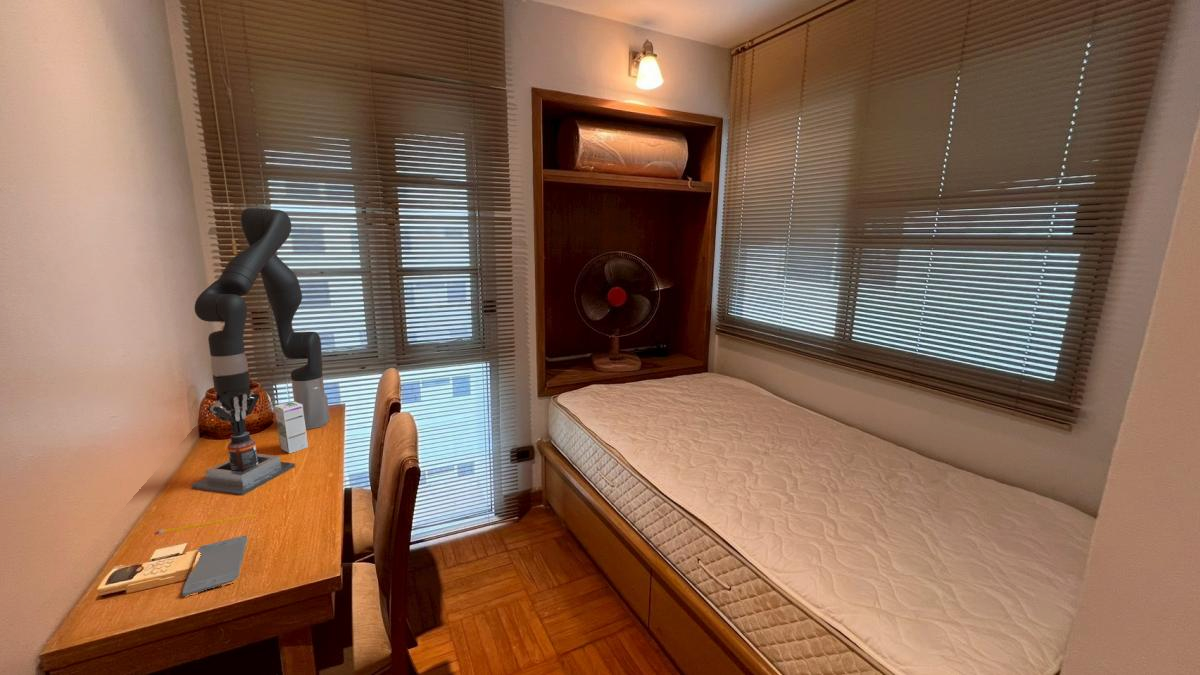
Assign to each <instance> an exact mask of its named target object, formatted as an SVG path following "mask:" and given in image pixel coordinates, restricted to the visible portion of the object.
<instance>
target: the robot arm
mask: <svg viewBox="0 0 1200 675" xmlns="http://www.w3.org/2000/svg"><path fill="white" fill-rule="evenodd" d="M240 224H241V228H242V232H243V234H244V236H245V239H246V241H247V244H248V246H249V247H247V248H245V249H244V250H243V251H241V252H239V253H238V254H236V255H235V256H233V258H232V259H230V261H228V263H227V264H226V266H225V268H224V269H223V271H222V273H221V275H220V277H219V278H217V280H215V281H214V282H212V283H211V284H210V285H209V286H208V287H207V288H206V289H204V290H203V291H202V292H201V293H200V294H199V295H198V296H197V298H196V300H195V304H194V313H195V315H196V316H197V317H198V318H199V319H200V320H201V321H203V322H210V323H219V322H221V323H223V322H224V326H223V328H222V329H221V330H217V331H213V332H211V333H209V334H208V346H209V347H208V348H209V354H210V369H211V375H212V382H213V388H214V390H215V392H216V397H215V403H213V405H209V406H208V407H207V411H208V412H210V413H211V414H212V415H214V416H215V417H217V418H218V419H220V420H221V421H223V422H230V427H231V432H232V433H233V434H241V433H244V432H246V429H247V424H246V418H247V416H248V415H250V416H251V414H252V413H253V411H254V409H255V407H256V405H257V403H258V401H259V399H260V397H261V394H260V393H257V392H256V393H255V392H253V391H252V390H251V387H250V385H251V380H250V379H251V378H250V370H249V365H248V358H247V356H246V352H245V343H244V332H245V326H246V321H247V316H248V305H247V303H246V301H245V299H244V298H243V296H246V295H247V294H248V293H249V292H250V291H251V289H252V288H253V286H254V283H255V282H256V280H257V279H258V276H259V275H260V277H261V280H262V283H263V288H264V290H265V293H266V297H267V299H268V303H269V305H270V307H271V311H272V314H273V318H274V322H275V326H276V330H277V334H278V339H279V343H280V347H281V352H282V354H283V355H284V357H285V358H286V359H289V360H307V362H306V364H305V365H303V366H300V367H298V368H295V369H292V370H291V372H290V380H291V387H292V388H291V389H292V396H293V401H294V402H297V403H300V404H302V405H303V413H304V420H305V427H306V430H313V429H318V428H320V427H324V426H326V425H327V424H328V422H330V420H331V419H330V412H329V402H328V396H327V395H326V394H325V393H326V392H325V385H324V378H323V358H322V355H323V354H322V340H321V337H320V335H319V333H318V332H316V331H295V330H294V328H293V319H294V317H295V314H296V313H297V311H298V309H299V307H300V305H301V303H302V300H303V293H302V290H301V286H300V282H299V279H298V277H297V276H296V273H294V271H293V270H292V269H291V268H290V267H288V265H287V264H286V263H285V262H284V261H283V260H282V259H280V257H278V256H277V254H276V253H277V252H278V250H279V249H280V248H282V246H283V245H284V243H285V242H286V241H287V240H288V239H289V237H290V235H291V232H292V221H291V218H290V216H289V215H288V213H287V212H285V211H283V210H280V209H273V208H256V207H255V208H254V207H247V208H245V209H244V210H243V211H241V216H240Z"/></svg>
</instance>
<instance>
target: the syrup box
mask: <svg viewBox="0 0 1200 675" xmlns="http://www.w3.org/2000/svg"><path fill="white" fill-rule="evenodd" d="M274 410H275V411H274V412H275V413H274V414H275V419H276V425H277V433H278V440H279V446H280V447H279V448H280V450H281V451H283V452H286V453H288V454H293V452H294V453H296V451H297V452H300V451H302V449H303V450H305V448H306V449H308V448H309V444H308V437H307V436H308V435H307V429H306V427H305V420H304V413H303V405H302V404H300V403H297V402H294V400H291V401H287V402H283V403H279V404H277V405H274ZM299 450H300V451H299Z"/></svg>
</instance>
